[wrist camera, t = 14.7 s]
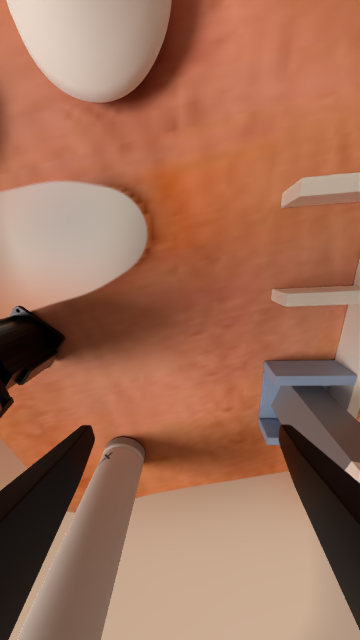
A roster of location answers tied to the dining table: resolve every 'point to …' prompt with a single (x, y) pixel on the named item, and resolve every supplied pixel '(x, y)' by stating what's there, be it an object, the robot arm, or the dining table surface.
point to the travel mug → (89, 552)
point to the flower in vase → (93, 42)
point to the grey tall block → (321, 423)
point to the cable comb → (356, 338)
